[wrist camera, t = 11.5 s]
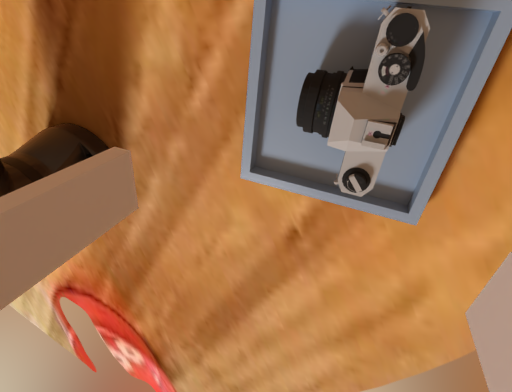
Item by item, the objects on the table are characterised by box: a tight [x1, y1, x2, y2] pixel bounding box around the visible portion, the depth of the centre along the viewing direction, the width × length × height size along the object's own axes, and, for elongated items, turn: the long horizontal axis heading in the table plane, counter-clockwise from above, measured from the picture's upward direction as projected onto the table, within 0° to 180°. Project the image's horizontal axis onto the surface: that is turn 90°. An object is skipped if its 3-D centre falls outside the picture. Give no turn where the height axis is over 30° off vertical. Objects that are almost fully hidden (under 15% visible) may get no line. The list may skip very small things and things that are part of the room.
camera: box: [296, 6, 430, 197], centre depth 22 cm, size 13×8×9 cm, turn 179°
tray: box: [240, 0, 512, 225], centre depth 26 cm, size 18×18×2 cm
